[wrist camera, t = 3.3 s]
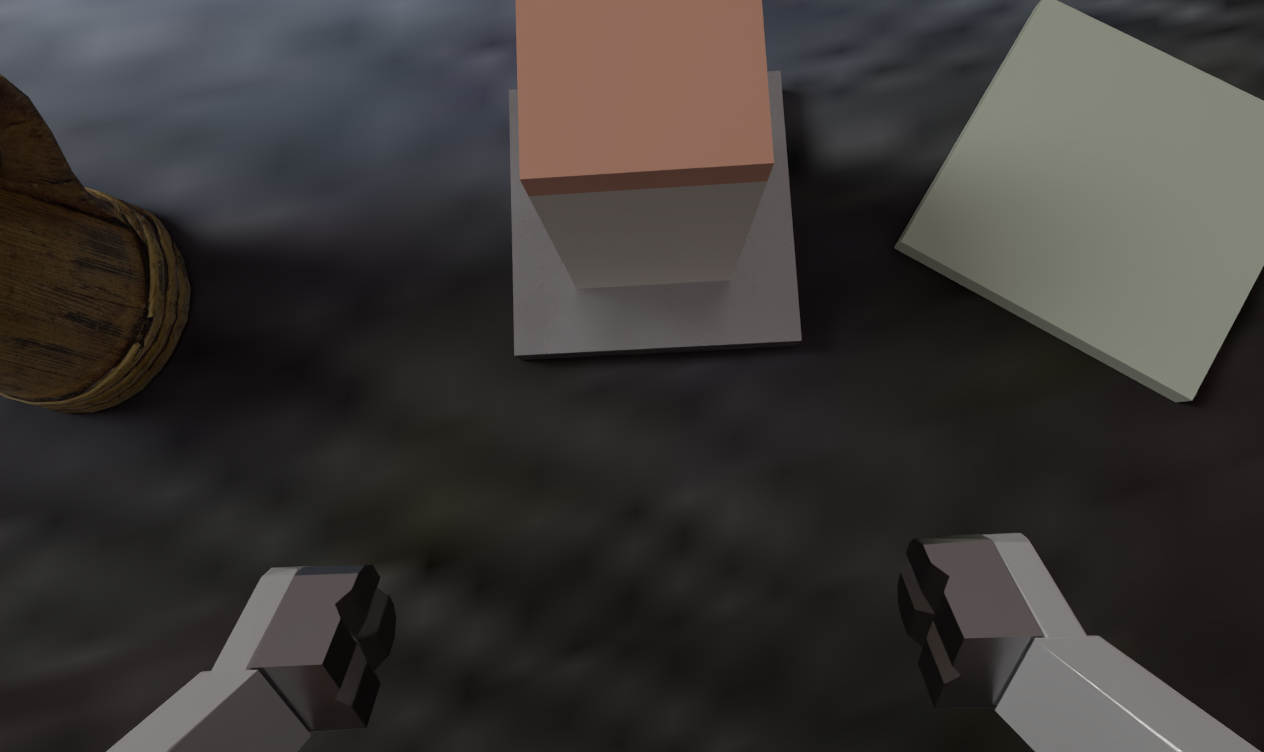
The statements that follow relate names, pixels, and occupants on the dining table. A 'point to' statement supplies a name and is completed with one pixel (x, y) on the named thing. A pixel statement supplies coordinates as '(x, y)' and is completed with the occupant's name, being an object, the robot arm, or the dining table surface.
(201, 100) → the dining table surface
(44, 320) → the wooden mug
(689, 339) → the square base plate
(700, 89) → the pink tall block
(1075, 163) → the pad
